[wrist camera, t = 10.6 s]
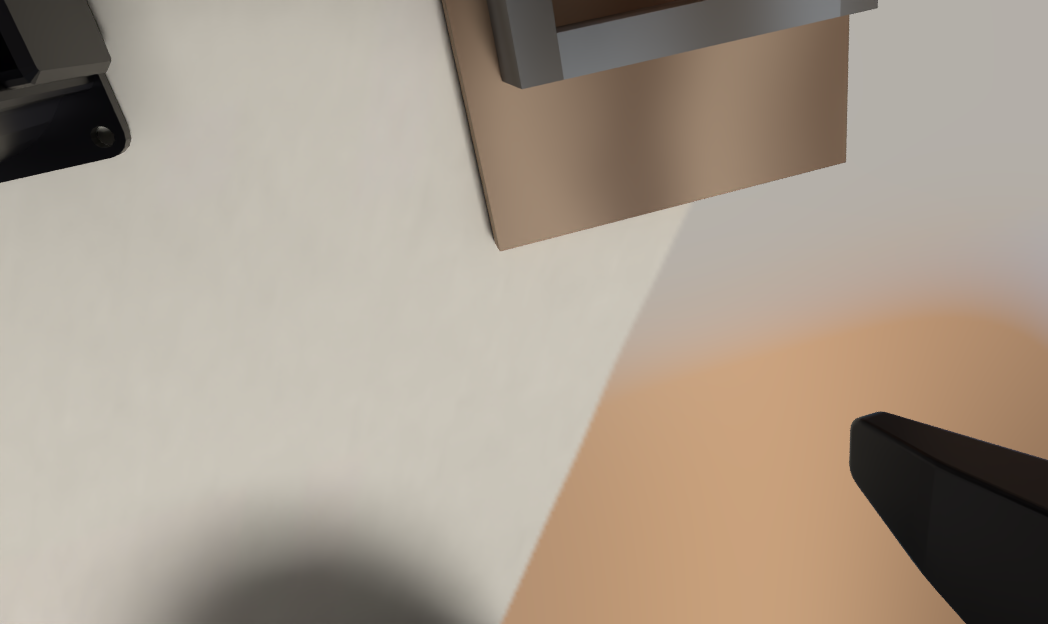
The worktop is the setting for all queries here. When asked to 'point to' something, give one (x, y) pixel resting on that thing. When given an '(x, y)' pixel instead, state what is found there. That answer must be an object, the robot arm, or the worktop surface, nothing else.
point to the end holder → (644, 102)
